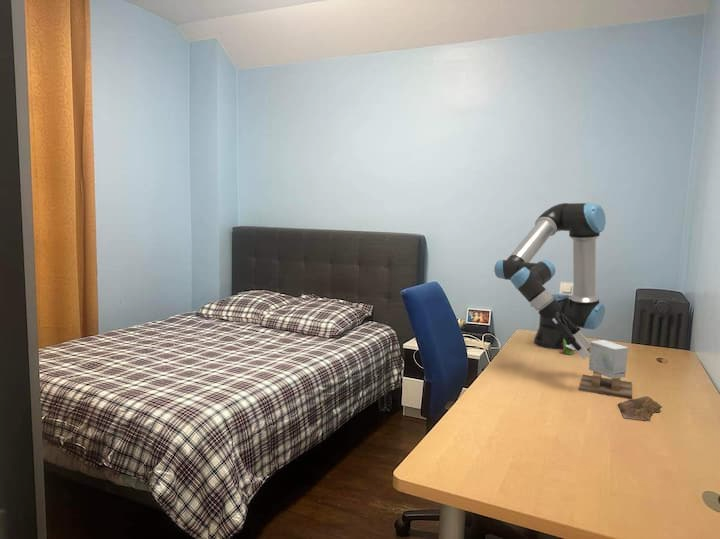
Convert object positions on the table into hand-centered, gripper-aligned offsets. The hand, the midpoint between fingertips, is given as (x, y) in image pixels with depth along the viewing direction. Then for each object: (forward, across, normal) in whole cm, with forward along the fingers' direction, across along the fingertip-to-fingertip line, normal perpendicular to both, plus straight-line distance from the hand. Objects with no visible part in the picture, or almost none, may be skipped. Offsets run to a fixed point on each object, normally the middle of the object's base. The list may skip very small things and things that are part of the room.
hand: (588, 352), depth 177 cm
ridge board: (+13, 0, -4) cm, 13 cm away
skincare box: (+9, 0, 0) cm, 9 cm away
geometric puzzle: (+2, -40, -15) cm, 43 cm away
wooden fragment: (+20, +15, +3) cm, 25 cm away
